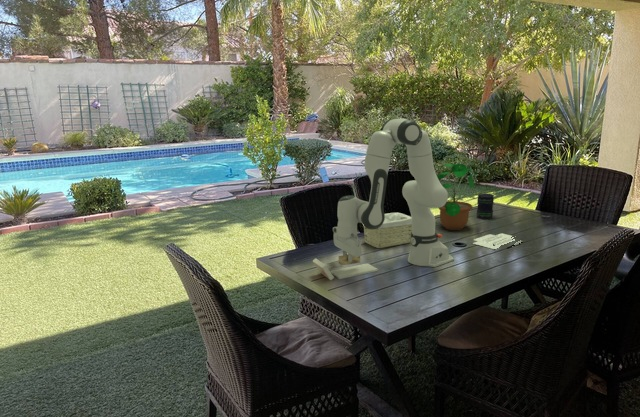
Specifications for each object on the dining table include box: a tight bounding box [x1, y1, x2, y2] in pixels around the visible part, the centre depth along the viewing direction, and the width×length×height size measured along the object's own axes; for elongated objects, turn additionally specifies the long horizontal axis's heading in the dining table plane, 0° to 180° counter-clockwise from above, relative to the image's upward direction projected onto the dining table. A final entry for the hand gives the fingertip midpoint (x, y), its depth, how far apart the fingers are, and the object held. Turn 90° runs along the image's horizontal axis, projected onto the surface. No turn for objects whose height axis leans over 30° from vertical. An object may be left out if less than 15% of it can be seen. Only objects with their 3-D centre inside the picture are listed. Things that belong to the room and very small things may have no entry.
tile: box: [312, 258, 335, 281], centre depth 211 cm, size 2×10×8 cm
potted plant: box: [436, 163, 476, 231], centre depth 279 cm, size 31×29×40 cm
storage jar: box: [476, 193, 495, 221], centre depth 302 cm, size 10×10×15 cm
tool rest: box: [329, 262, 379, 280], centre depth 217 cm, size 20×9×1 cm, turn 116°
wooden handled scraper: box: [324, 254, 361, 270], centre depth 214 cm, size 17×5×4 cm, turn 116°
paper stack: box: [471, 232, 522, 250], centre depth 256 cm, size 20×28×4 cm
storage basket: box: [363, 212, 412, 249], centre depth 257 cm, size 24×16×15 cm
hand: (347, 260), depth 215 cm, fingers closed on wooden handled scraper, 2 cm apart
